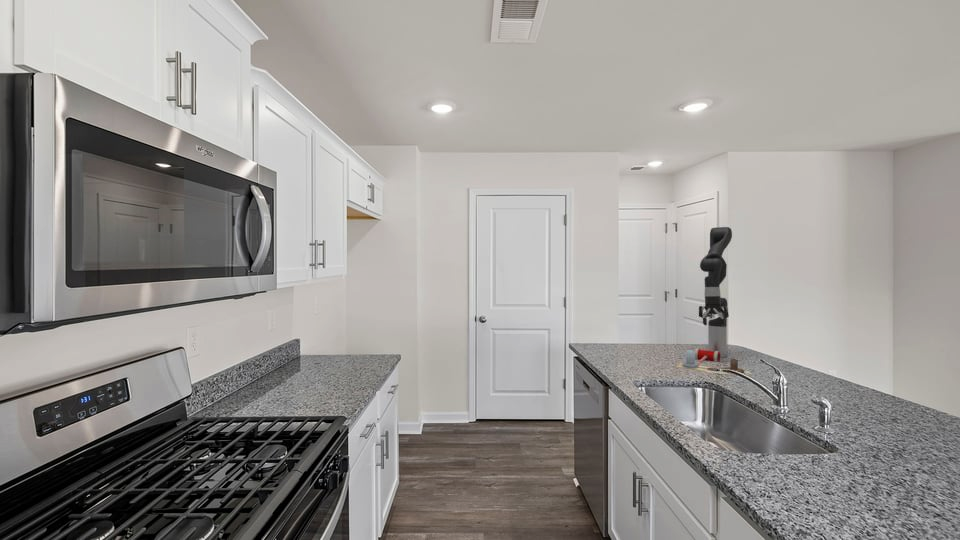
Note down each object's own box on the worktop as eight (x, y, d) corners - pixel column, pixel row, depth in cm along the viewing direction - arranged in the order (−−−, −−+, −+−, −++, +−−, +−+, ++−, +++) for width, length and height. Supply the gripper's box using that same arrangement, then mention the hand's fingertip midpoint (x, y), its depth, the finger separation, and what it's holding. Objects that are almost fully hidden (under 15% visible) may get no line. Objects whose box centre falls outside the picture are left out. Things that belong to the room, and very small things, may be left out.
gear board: (680, 365, 228) (680, 362, 228) (750, 373, 210) (750, 370, 210) (674, 370, 218) (674, 367, 218) (747, 379, 200) (747, 376, 200)
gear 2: (725, 369, 214) (725, 355, 214) (744, 371, 209) (745, 358, 209) (723, 372, 208) (723, 358, 208) (743, 375, 203) (743, 361, 203)
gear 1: (684, 364, 225) (684, 348, 224) (699, 366, 220) (699, 350, 220) (681, 367, 219) (681, 351, 219) (696, 369, 215) (696, 352, 215)
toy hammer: (708, 369, 220) (708, 357, 220) (683, 365, 228) (684, 353, 228) (720, 362, 237) (720, 350, 237) (697, 358, 245) (697, 347, 245)
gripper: (729, 295, 235) (730, 325, 234) (701, 295, 245) (702, 324, 244) (724, 295, 230) (726, 326, 229) (696, 295, 240) (697, 325, 239)
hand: (713, 325), depth 237 cm, fingers open, 8 cm apart
